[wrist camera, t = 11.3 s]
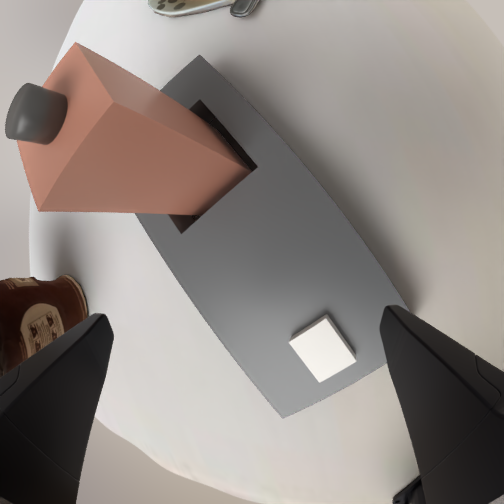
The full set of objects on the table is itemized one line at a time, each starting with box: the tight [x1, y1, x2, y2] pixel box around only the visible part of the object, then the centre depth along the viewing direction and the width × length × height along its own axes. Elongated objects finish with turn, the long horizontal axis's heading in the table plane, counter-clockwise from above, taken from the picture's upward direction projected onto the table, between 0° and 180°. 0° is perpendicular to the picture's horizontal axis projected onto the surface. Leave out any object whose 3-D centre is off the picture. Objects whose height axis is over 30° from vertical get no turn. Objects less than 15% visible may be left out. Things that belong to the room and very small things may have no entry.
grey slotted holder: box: [135, 55, 411, 418], centre depth 17 cm, size 22×10×4 cm, turn 38°
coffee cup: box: [0, 275, 87, 377], centre depth 19 cm, size 9×8×13 cm
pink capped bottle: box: [5, 42, 252, 216], centre depth 13 cm, size 4×4×14 cm
